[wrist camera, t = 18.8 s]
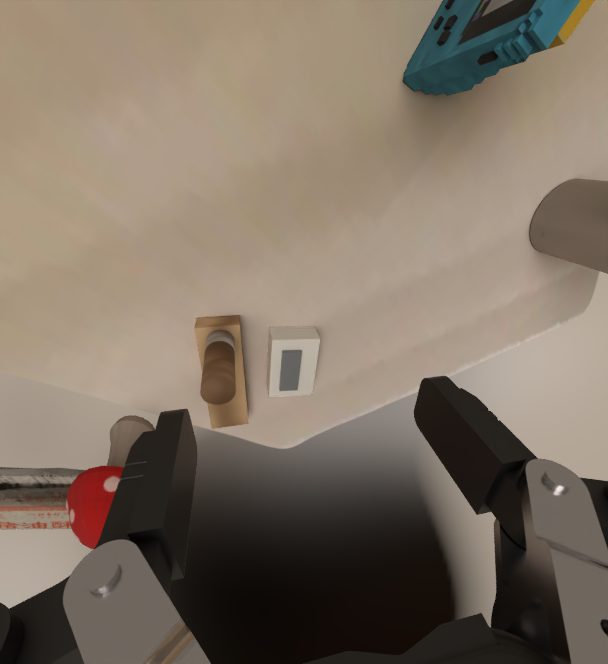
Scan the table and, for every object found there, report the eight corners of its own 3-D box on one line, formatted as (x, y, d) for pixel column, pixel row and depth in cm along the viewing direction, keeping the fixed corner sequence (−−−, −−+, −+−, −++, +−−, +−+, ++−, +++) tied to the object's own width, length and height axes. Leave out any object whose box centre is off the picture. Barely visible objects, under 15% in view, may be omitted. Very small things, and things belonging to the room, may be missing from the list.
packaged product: (120, 499, 44) (115, 539, 48) (129, 469, 48) (124, 508, 52) (-47, 498, 37) (-36, 544, 42) (-20, 463, 42) (-13, 508, 46)
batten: (239, 315, 38) (239, 324, 36) (247, 411, 46) (248, 423, 44) (196, 318, 37) (194, 328, 35) (212, 415, 45) (211, 428, 43)
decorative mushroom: (182, 441, 47) (165, 550, 34) (126, 461, 46) (89, 579, 34) (147, 395, 41) (111, 504, 29) (84, 418, 41) (19, 538, 28)
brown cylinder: (232, 328, 36) (234, 376, 29) (235, 351, 38) (237, 402, 30) (204, 330, 35) (198, 380, 28) (207, 353, 37) (202, 406, 30)
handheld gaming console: (463, -45, 26) (684, -229, 13) (492, -7, 28) (713, -137, 15) (394, 79, 30) (520, 26, 17) (424, 107, 31) (558, 78, 19)
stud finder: (313, 325, 42) (321, 341, 38) (306, 379, 46) (313, 397, 42) (268, 326, 40) (272, 342, 37) (266, 381, 45) (269, 400, 41)
